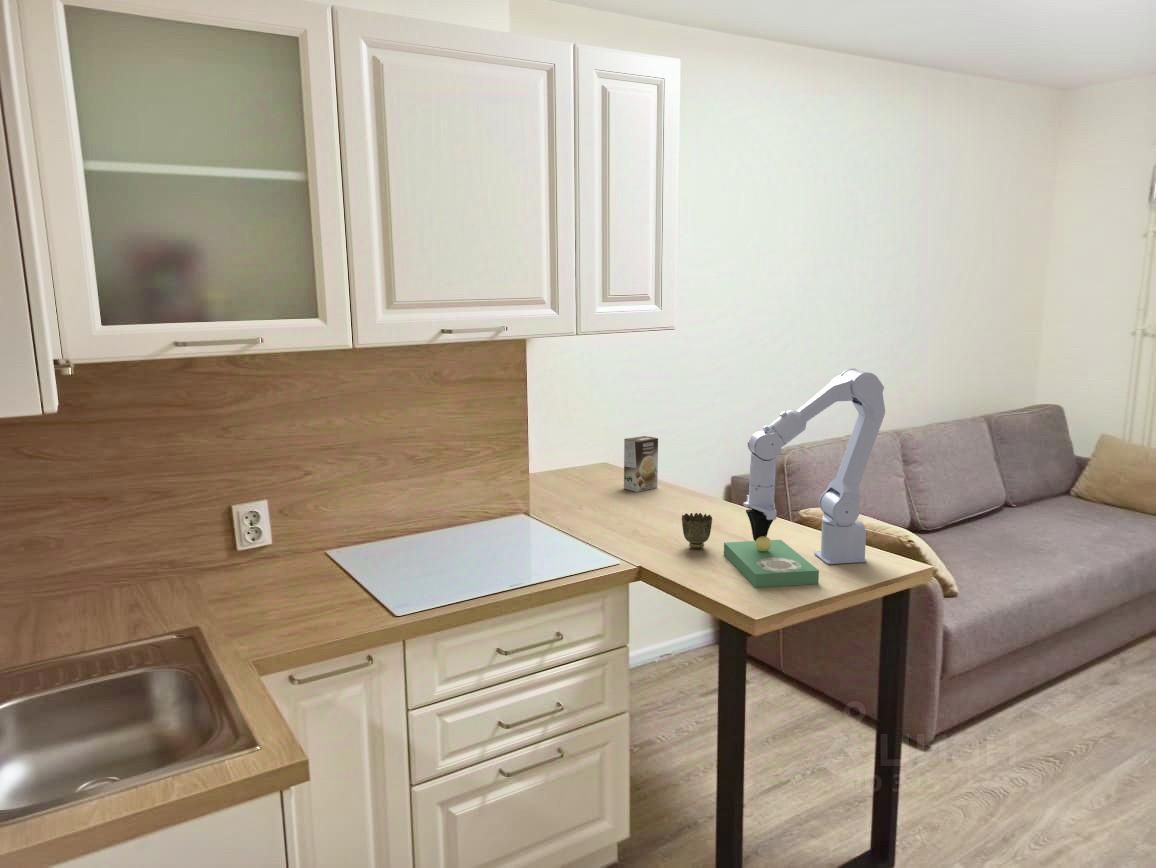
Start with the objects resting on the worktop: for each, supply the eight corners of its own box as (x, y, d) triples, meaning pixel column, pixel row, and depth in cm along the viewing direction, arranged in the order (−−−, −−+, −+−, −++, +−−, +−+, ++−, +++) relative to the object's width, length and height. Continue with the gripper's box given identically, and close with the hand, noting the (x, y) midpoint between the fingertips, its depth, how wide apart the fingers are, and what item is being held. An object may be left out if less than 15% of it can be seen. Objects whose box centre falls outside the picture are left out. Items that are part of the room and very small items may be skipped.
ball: (767, 543, 192) (768, 531, 190) (773, 553, 189) (774, 541, 188) (752, 545, 192) (753, 534, 190) (757, 556, 189) (758, 544, 187)
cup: (711, 553, 198) (711, 521, 197) (680, 552, 200) (680, 519, 198) (712, 544, 205) (713, 512, 204) (682, 542, 207) (682, 511, 205)
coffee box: (637, 492, 257) (637, 441, 254) (623, 488, 261) (623, 438, 259) (658, 487, 262) (658, 437, 259) (644, 484, 267) (644, 435, 264)
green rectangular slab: (780, 551, 199) (780, 539, 199) (818, 583, 178) (818, 570, 177) (723, 554, 197) (724, 542, 197) (755, 587, 176) (755, 574, 175)
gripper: (735, 477, 196) (732, 532, 198) (755, 492, 182) (753, 551, 184) (764, 476, 197) (761, 531, 199) (786, 491, 183) (783, 550, 185)
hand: (759, 541), depth 192 cm, fingers closed
